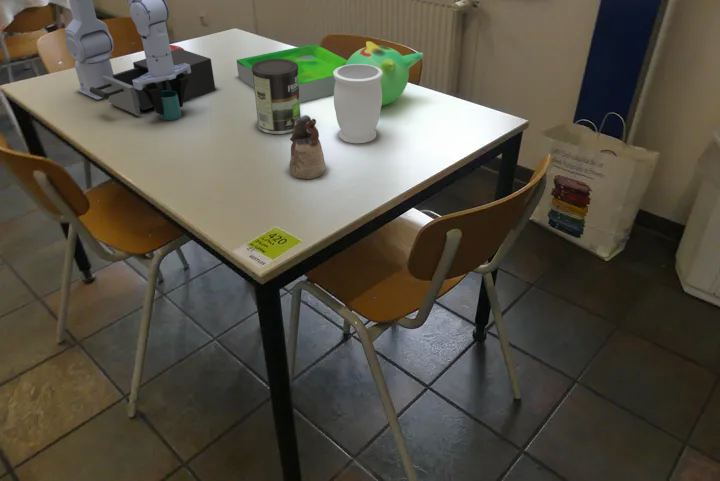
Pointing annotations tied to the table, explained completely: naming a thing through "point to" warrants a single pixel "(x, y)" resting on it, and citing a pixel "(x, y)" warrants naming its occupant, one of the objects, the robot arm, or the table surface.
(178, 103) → the container
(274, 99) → the coffee can
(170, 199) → the table surface
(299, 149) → the figurine
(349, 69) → the jar
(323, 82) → the tray
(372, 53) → the toy bird
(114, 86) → the drawer
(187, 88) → the dark grey storage box
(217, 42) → the table surface
